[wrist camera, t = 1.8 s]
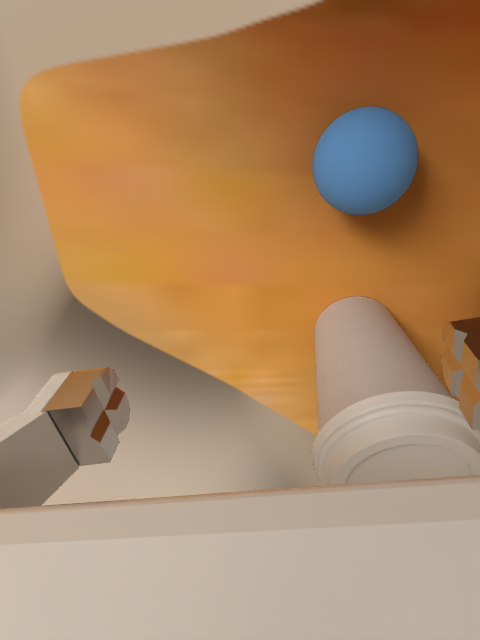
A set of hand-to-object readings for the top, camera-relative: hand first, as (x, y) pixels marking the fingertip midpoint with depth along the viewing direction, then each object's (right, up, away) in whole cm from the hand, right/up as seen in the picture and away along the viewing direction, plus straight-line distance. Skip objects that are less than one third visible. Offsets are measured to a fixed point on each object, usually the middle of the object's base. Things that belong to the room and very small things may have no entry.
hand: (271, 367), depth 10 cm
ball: (+7, +11, +14) cm, 19 cm away
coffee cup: (+9, 0, +24) cm, 26 cm away
